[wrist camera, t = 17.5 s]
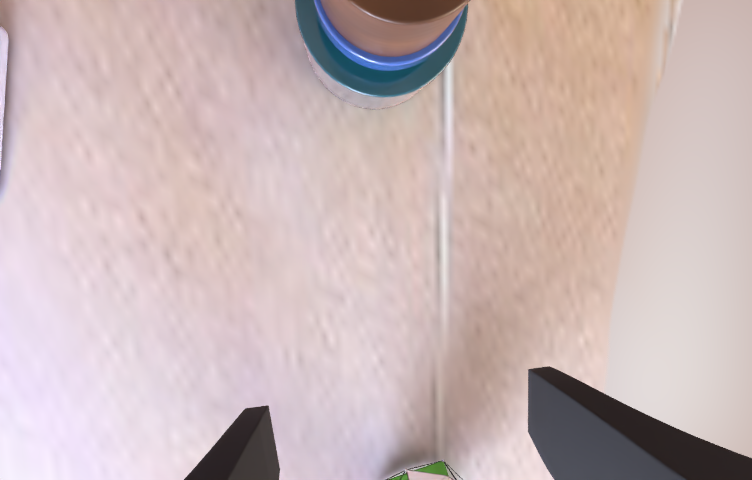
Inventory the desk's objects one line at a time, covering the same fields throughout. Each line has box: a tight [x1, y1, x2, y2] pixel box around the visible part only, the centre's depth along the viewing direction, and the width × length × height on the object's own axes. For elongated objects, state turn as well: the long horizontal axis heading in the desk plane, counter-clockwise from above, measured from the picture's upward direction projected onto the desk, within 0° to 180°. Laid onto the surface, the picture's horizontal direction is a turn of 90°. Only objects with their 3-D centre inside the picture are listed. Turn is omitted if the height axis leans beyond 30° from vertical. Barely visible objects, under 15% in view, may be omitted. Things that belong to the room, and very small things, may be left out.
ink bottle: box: [295, 0, 468, 109], centre depth 15 cm, size 6×6×6 cm
